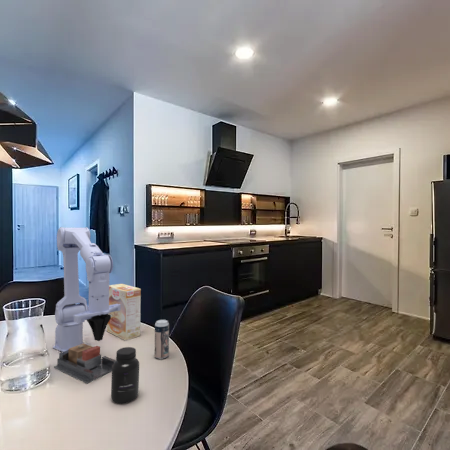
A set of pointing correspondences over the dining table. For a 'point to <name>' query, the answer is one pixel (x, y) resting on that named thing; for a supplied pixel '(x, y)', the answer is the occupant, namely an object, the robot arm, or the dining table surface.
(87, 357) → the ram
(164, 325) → the beer can
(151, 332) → the dining table surface
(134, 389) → the supplement bottle
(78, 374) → the grey tray
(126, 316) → the coffeecake box
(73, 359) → the wooden block
